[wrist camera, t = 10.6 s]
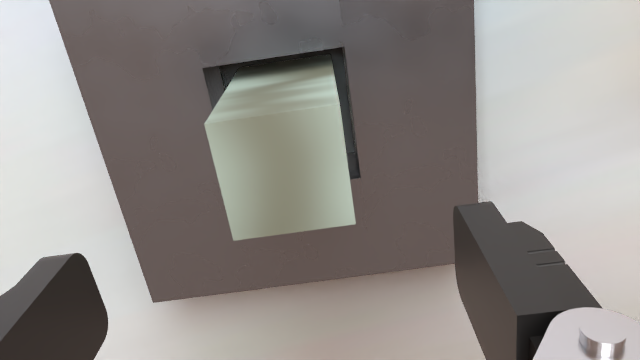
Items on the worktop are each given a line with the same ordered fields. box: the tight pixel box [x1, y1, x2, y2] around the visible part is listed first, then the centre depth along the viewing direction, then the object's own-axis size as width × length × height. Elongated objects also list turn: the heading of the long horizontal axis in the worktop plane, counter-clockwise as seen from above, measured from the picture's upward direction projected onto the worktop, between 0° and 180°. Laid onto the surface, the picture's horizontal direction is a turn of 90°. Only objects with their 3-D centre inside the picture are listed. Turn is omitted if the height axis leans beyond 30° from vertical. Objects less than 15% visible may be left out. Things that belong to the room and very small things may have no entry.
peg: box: [204, 54, 356, 241], centre depth 19 cm, size 4×4×8 cm
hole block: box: [49, 0, 478, 303], centre depth 21 cm, size 15×15×3 cm
